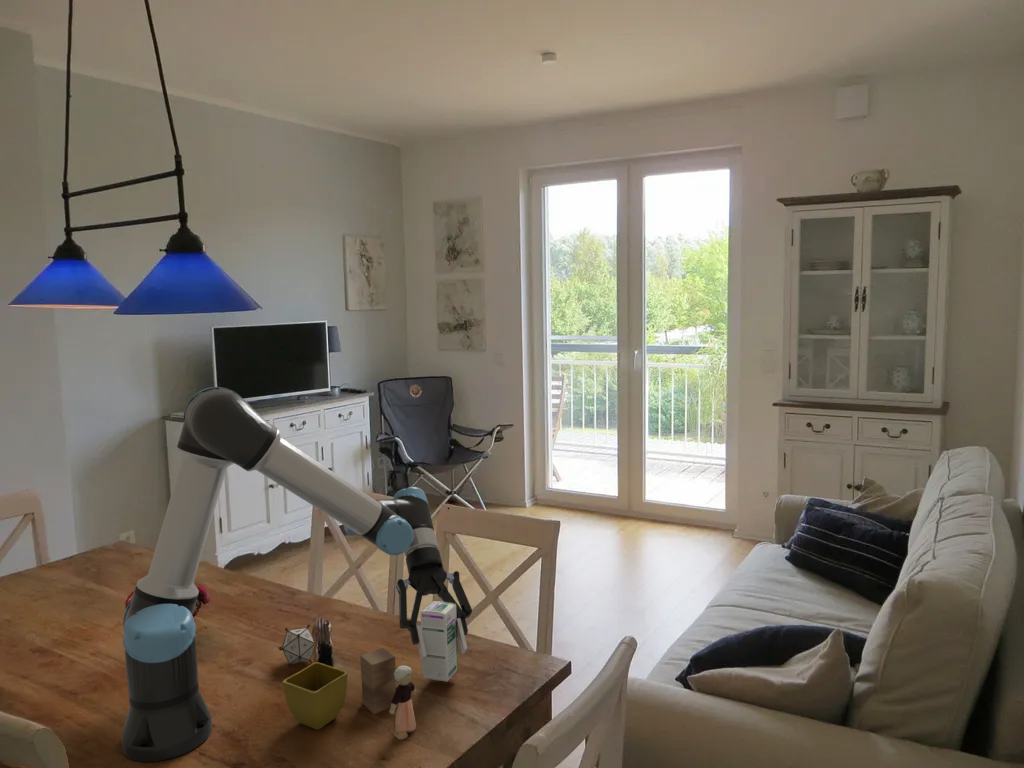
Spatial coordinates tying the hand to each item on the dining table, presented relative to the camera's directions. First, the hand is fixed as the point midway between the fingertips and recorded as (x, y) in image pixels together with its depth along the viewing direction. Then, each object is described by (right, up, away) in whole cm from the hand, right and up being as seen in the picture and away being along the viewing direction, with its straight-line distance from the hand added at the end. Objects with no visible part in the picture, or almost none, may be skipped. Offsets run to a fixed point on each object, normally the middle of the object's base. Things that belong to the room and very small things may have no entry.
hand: (444, 654), depth 155 cm
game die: (-33, -7, +14) cm, 37 cm away
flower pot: (-23, -9, -10) cm, 27 cm away
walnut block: (-12, -8, -4) cm, 15 cm away
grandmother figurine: (-6, -9, -14) cm, 18 cm away
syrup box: (-1, -5, +4) cm, 7 cm away
